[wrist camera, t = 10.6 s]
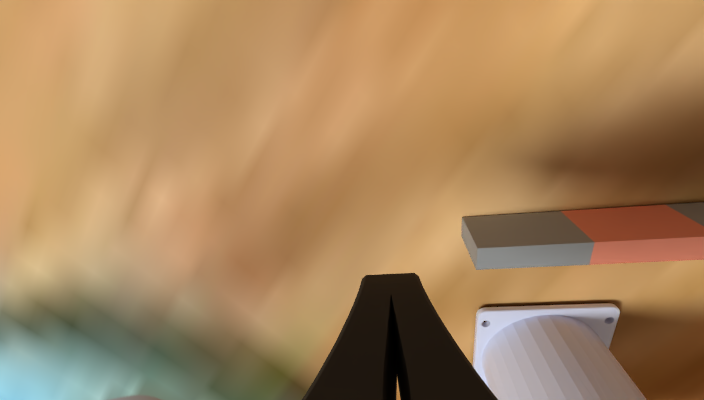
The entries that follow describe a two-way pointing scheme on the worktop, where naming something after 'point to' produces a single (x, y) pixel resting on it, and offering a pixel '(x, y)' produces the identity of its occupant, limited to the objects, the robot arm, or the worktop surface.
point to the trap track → (586, 236)
